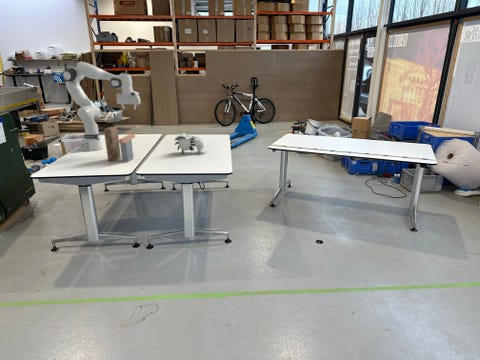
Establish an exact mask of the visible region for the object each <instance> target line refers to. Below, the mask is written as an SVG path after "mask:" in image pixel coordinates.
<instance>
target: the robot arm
mask: <svg viewBox="0 0 480 360" xmlns="http://www.w3.org/2000/svg"><path fill="white" fill-rule="evenodd" d="M62 78H63V79H64V81H66V82H65V87H66V90H67V92H68V94H69V95H70V96H71V98H72V100H73V101H74V103H75V104H76V105H78V106H79V107H80V108H79V109H78V110H77V112H76V115H77V116H78V118H79V119H80V120H81V122H82V124H83V127H84V132H85V134H83V139H82V140H81V141H79V143H78V147H77V148H76V151H83V152H93V151H100V150H102V149H104V148H103V145H102V142H101V136H100V132H99V125H98V124H97V123H96V121H95V119H94V118H97V117H98V116H99V115H100V114H101V109H100V107H99V106H98V105H96V104H95V103H93V101H92V100H91V99H90V98H88V96H87V94H86V93H85V91H84V90H83V88H82V86H81V85H80V83H82V82H83V81H84V80H85V79H86V78H88V79H92V80H106V81H109V85H110V87H111V88H113V89H115V90H119V89H121V92H117V93H116V94H115V95H116V96H115V97H116V104H118V105H121V107H122V110H126V107H125V106H124V105H133V107H132V108H133V109H132V110H136V109H137V106H138V105H140V104H141V97H140V93H139V92H138V91H135V90H134V89H133V79H132V76H131V74H130V73H127V72H121V73H120V74H118V75H117V74H113V73H110V72H109V71H106V70H104V69H102V68H100V67H98V66H95V65H93V64H91V63H89V62H84V61H79V62H77V63H76V66H75V67H70V68H69V67H68V68H65V69H64V70H63V71H62Z"/></svg>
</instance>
